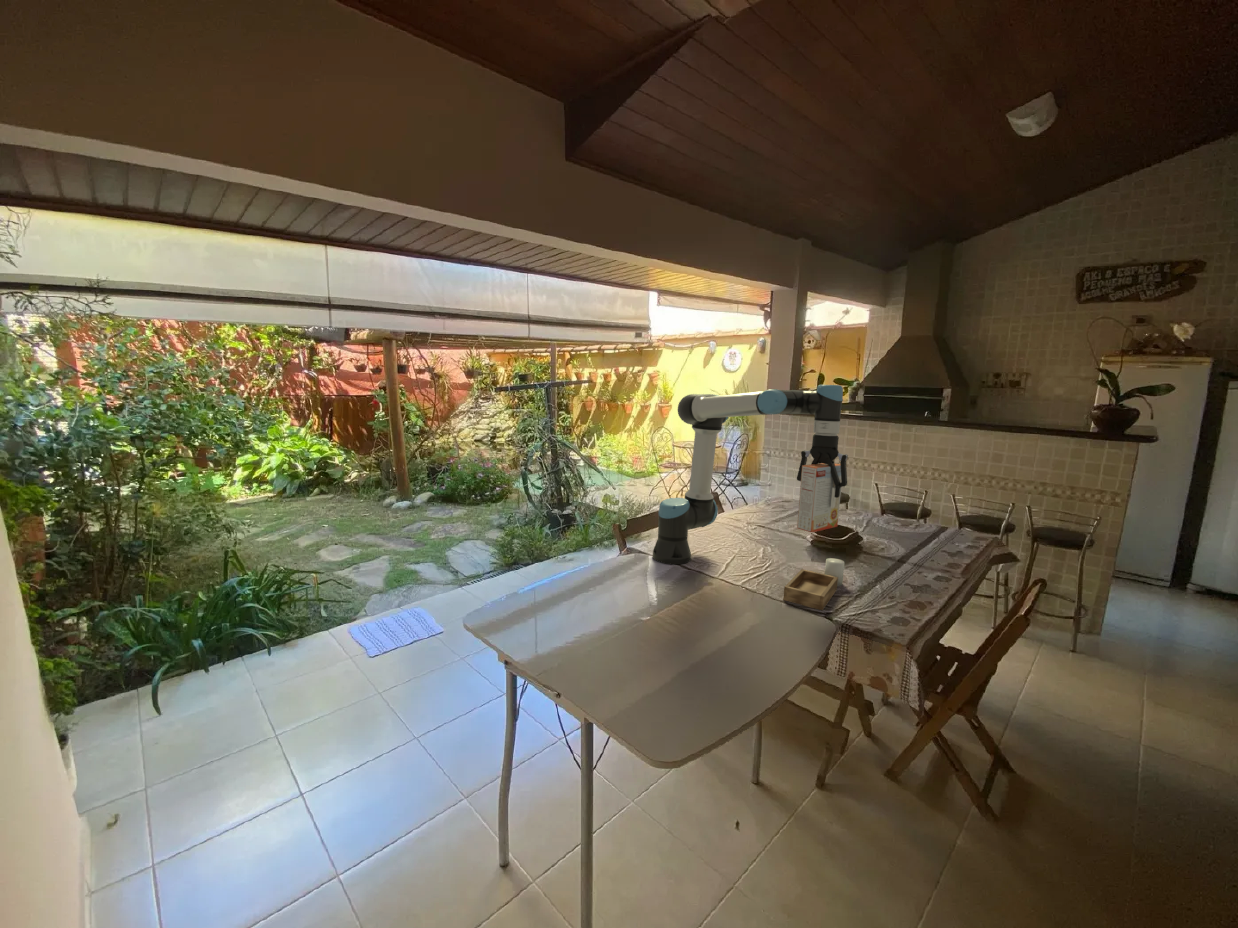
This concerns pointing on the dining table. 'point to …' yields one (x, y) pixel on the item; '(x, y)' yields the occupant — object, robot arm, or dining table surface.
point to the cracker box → (817, 498)
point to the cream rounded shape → (835, 569)
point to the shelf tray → (810, 589)
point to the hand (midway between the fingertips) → (819, 504)
